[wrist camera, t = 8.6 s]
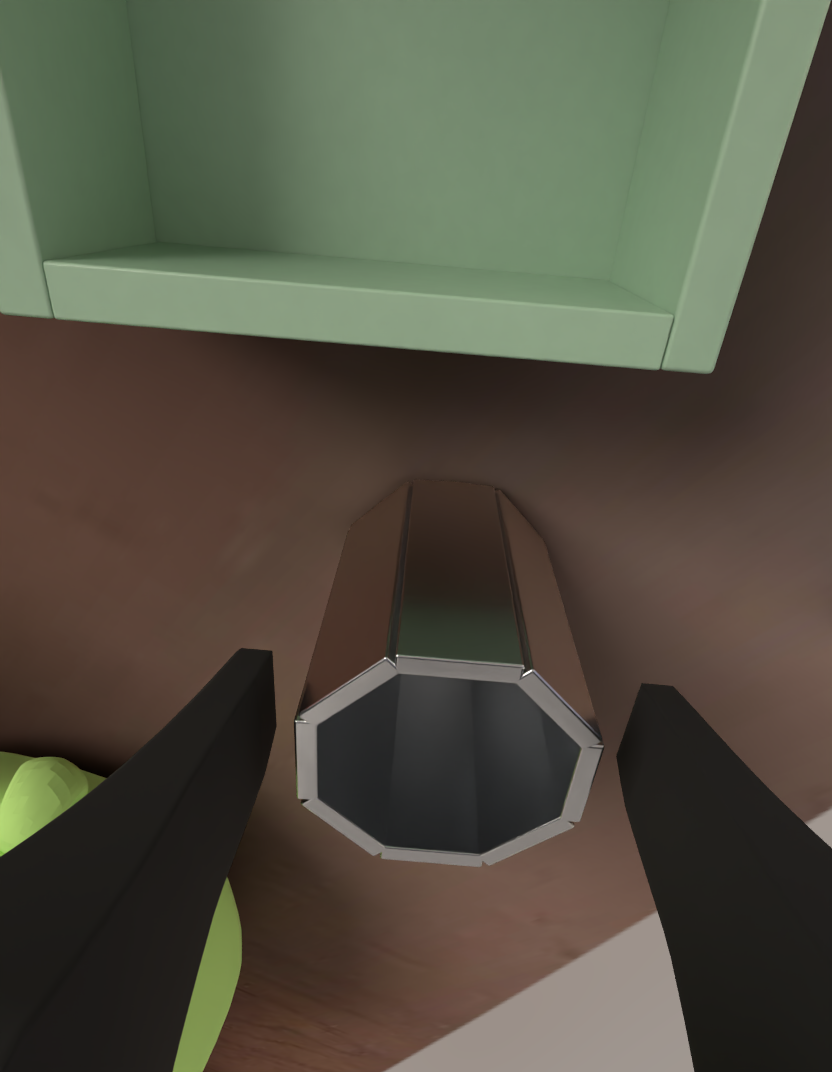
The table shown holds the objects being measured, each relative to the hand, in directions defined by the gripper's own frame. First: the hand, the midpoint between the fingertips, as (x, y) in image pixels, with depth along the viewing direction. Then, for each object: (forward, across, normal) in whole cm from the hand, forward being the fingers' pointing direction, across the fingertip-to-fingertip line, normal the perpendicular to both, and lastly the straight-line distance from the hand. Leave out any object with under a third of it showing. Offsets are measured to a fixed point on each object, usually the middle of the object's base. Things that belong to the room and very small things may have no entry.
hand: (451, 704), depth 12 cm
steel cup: (+5, 0, 0) cm, 5 cm away
